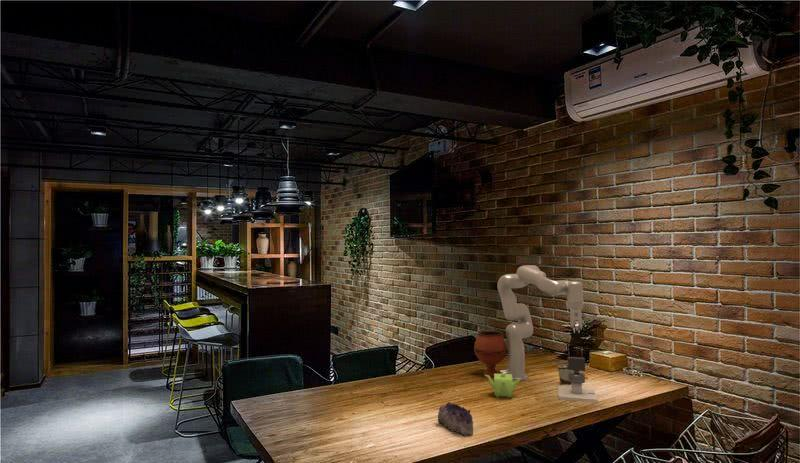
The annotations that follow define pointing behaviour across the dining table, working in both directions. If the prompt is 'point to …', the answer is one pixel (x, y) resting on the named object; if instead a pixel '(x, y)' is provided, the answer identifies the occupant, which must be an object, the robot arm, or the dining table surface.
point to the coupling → (576, 370)
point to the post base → (576, 397)
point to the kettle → (503, 384)
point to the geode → (456, 419)
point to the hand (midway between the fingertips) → (576, 339)
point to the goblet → (490, 349)
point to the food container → (564, 374)
